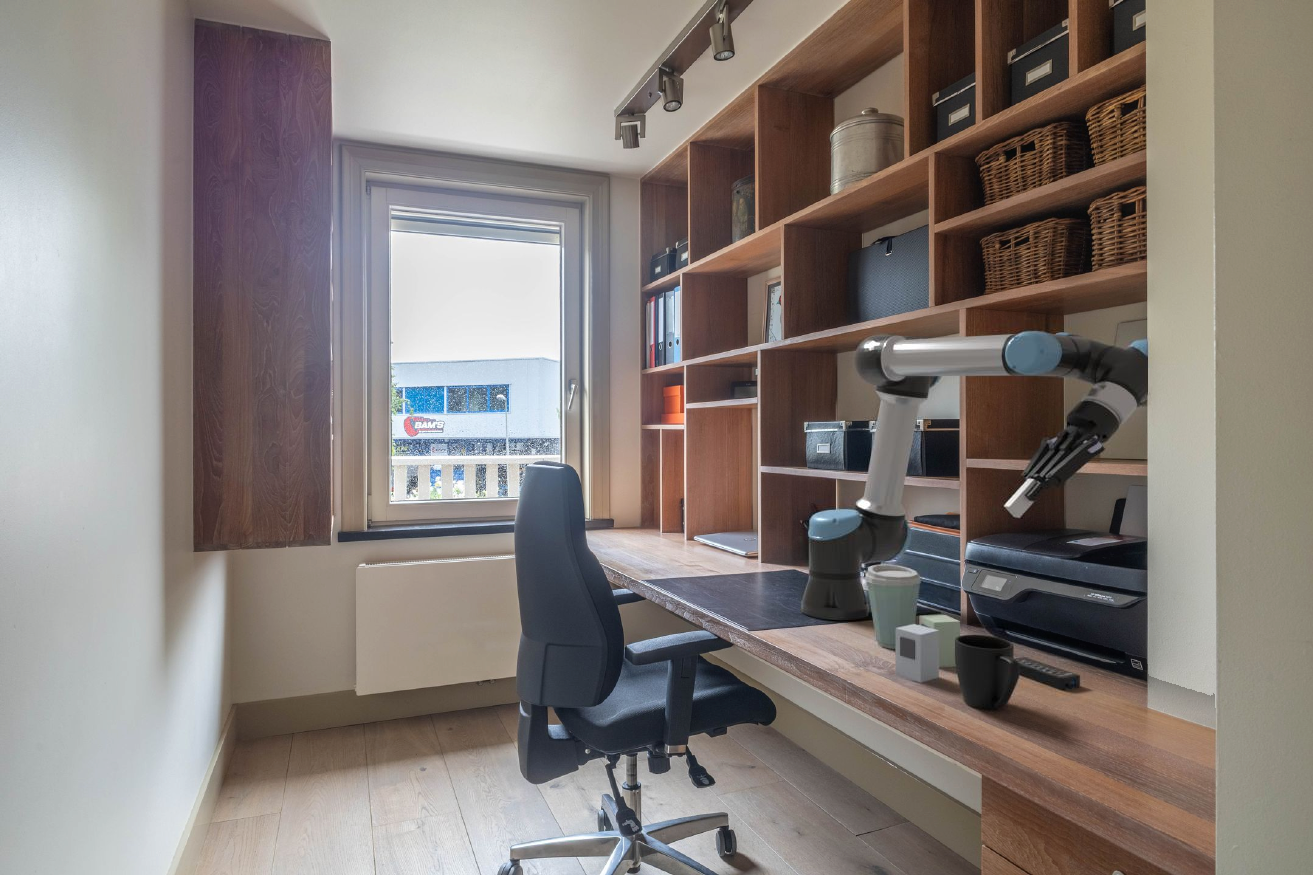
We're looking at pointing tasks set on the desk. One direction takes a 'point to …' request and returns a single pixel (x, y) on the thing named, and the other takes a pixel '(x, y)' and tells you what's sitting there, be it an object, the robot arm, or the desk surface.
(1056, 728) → the desk surface
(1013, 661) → the mug
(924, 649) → the block grey
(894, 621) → the disposable coffee cup
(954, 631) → the block sage
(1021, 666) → the multiport hub
